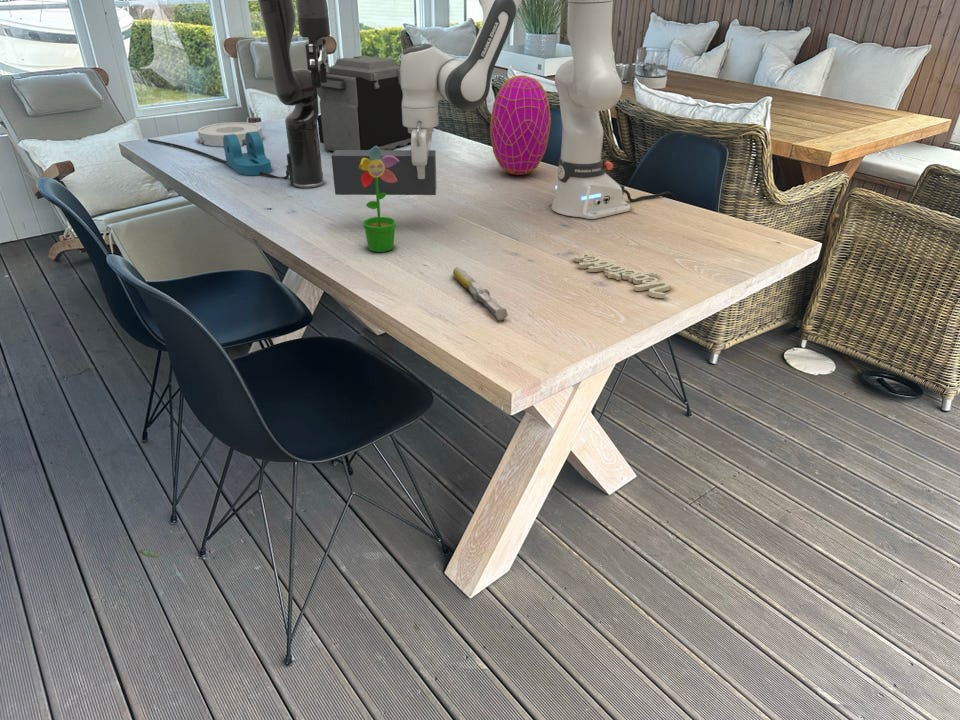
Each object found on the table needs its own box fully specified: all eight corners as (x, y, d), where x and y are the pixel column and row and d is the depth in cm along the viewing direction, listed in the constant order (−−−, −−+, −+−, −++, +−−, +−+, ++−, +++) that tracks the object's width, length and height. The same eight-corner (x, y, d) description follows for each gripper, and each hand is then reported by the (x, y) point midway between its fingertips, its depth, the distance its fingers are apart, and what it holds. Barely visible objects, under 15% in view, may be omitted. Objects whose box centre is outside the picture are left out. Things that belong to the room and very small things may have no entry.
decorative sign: (686, 282, 150) (660, 295, 144) (686, 286, 150) (659, 300, 144) (592, 249, 166) (565, 259, 160) (592, 253, 167) (565, 263, 161)
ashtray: (212, 132, 275) (211, 121, 273) (270, 133, 274) (268, 122, 272) (190, 145, 255) (187, 134, 253) (251, 147, 254) (250, 135, 252)
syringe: (449, 274, 155) (449, 263, 153) (465, 272, 156) (464, 260, 154) (490, 323, 135) (491, 310, 133) (508, 319, 136) (508, 307, 134)
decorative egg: (522, 185, 216) (526, 83, 200) (477, 173, 227) (478, 76, 212) (559, 173, 228) (566, 76, 213) (514, 162, 239) (517, 70, 224)
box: (335, 194, 173) (331, 155, 168) (338, 188, 178) (335, 149, 173) (435, 195, 174) (434, 156, 169) (436, 188, 179) (435, 150, 174)
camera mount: (227, 164, 233) (221, 132, 227) (257, 160, 238) (252, 129, 233) (244, 176, 220) (239, 143, 215) (276, 172, 225) (271, 139, 220)
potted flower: (369, 256, 164) (361, 149, 151) (358, 245, 170) (349, 142, 157) (406, 249, 167) (401, 145, 155) (394, 239, 173) (388, 138, 161)
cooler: (383, 133, 276) (378, 52, 261) (425, 141, 265) (422, 56, 250) (314, 150, 251) (304, 61, 235) (358, 160, 240) (350, 67, 224)
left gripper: (323, 17, 164) (329, 89, 172) (333, 13, 176) (339, 80, 185) (291, 17, 164) (299, 89, 172) (303, 13, 176) (311, 80, 184)
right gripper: (431, 127, 158) (433, 186, 165) (435, 109, 176) (436, 163, 183) (403, 126, 158) (406, 186, 165) (410, 109, 176) (412, 163, 183)
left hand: (320, 85), depth 178 cm, fingers open, 8 cm apart
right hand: (422, 174), depth 174 cm, fingers closed on box, 6 cm apart
